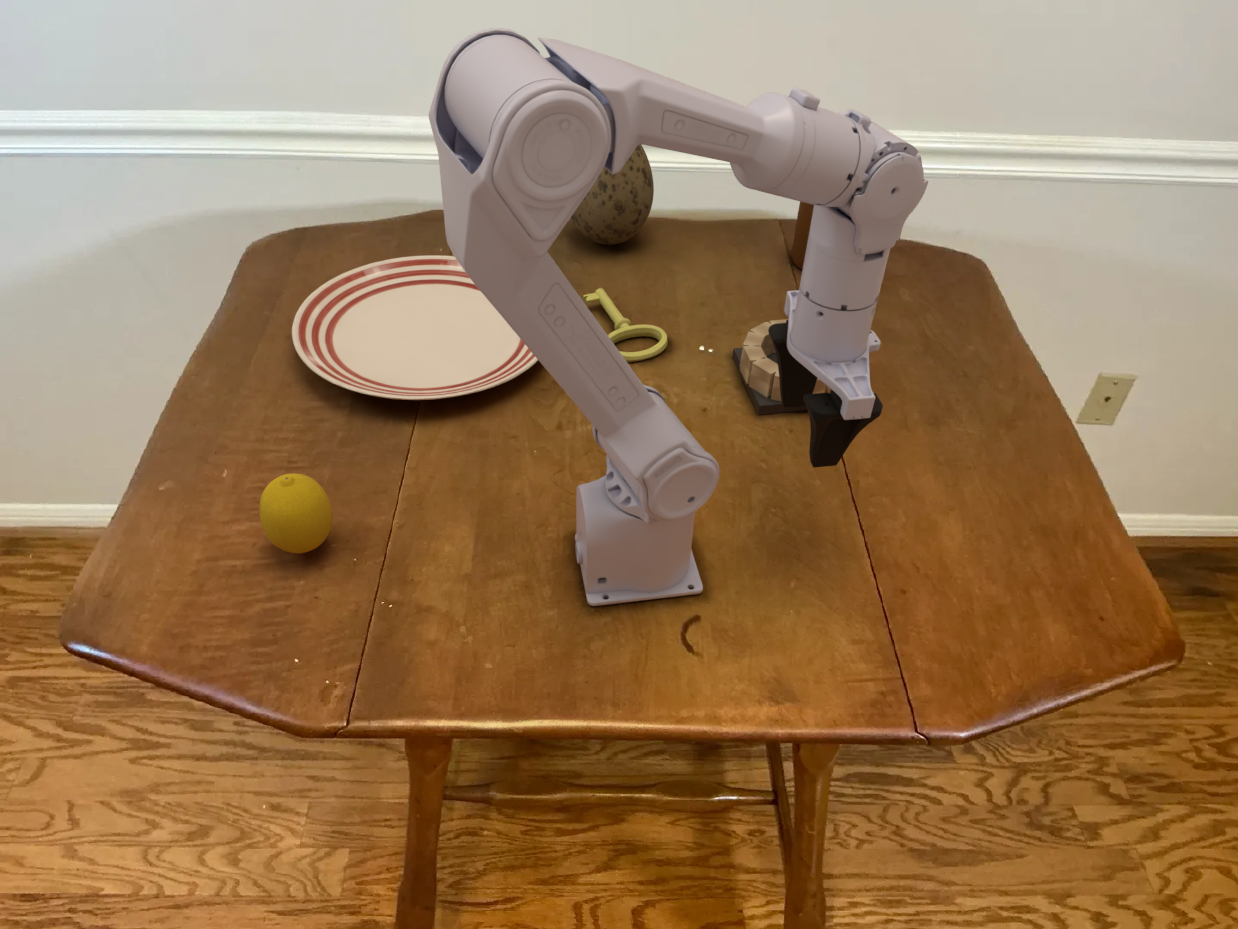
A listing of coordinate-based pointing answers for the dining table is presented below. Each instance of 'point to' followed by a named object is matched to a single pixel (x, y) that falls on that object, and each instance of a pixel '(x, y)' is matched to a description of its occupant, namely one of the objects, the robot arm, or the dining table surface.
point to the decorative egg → (617, 202)
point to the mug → (802, 233)
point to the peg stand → (760, 401)
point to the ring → (765, 363)
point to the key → (628, 328)
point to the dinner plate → (408, 332)
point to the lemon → (295, 513)
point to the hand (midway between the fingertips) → (808, 432)
